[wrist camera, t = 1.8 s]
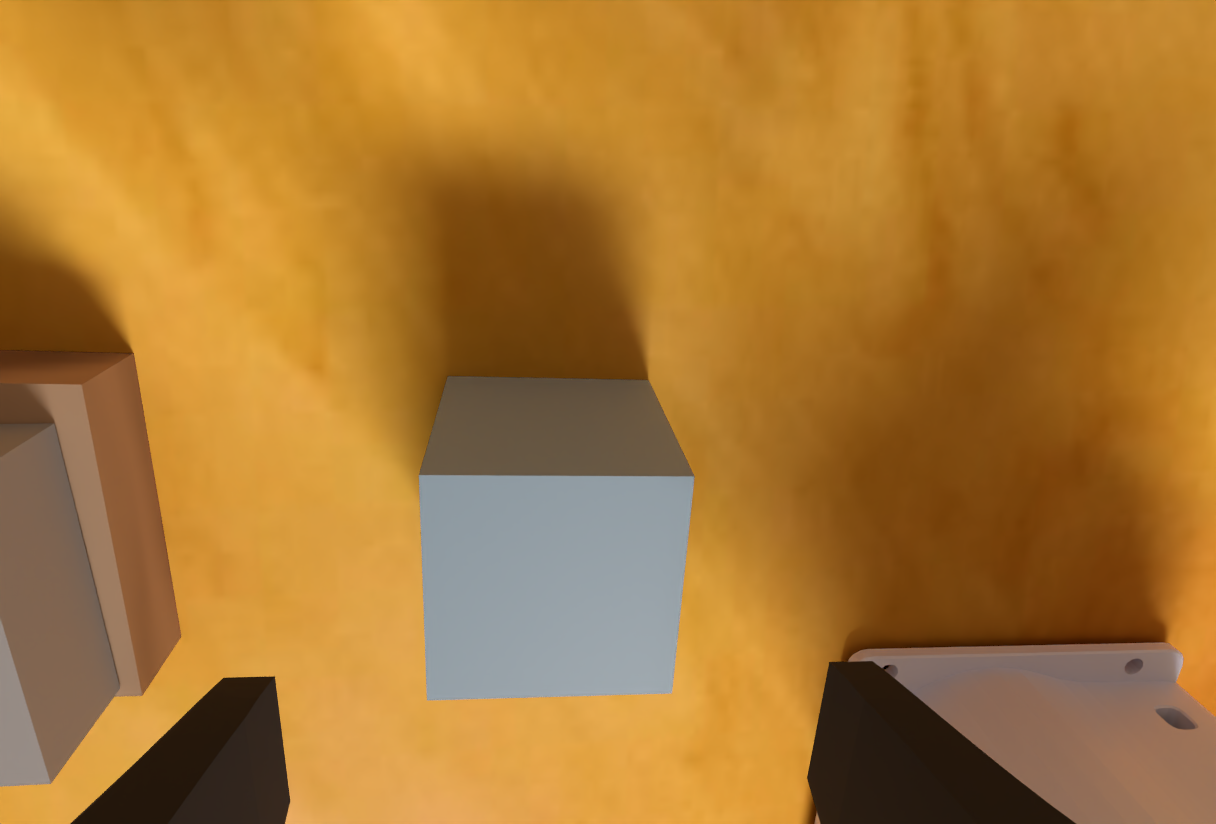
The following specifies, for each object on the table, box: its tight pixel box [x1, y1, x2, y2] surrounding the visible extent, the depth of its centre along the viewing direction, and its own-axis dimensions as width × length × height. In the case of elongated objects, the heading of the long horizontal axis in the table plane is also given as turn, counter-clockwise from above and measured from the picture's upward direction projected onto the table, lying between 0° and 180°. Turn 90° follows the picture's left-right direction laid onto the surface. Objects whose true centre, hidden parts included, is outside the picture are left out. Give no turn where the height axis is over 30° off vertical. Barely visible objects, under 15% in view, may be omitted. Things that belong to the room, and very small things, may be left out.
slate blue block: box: [419, 376, 694, 700], centre depth 15 cm, size 4×4×5 cm
